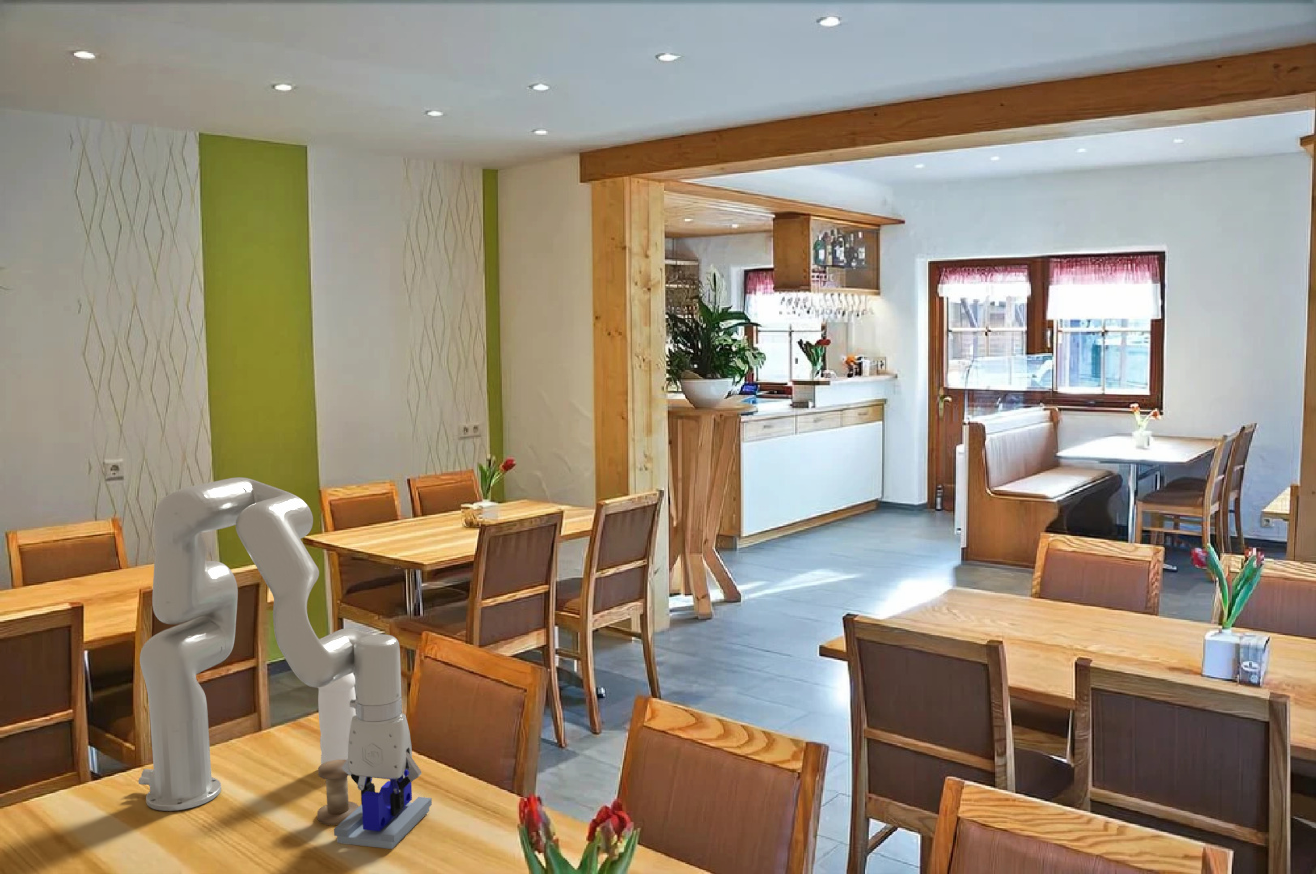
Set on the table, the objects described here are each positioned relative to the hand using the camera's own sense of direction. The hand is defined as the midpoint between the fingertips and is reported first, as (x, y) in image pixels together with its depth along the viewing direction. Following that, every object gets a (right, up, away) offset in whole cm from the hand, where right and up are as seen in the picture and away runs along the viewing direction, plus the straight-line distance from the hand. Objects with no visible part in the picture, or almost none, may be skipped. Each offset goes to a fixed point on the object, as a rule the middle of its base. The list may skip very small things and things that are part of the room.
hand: (383, 810), depth 182 cm
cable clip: (0, -1, +1) cm, 1 cm away
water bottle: (-15, -1, +24) cm, 28 cm away
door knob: (-9, -3, +5) cm, 10 cm away
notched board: (0, -3, 0) cm, 3 cm away
